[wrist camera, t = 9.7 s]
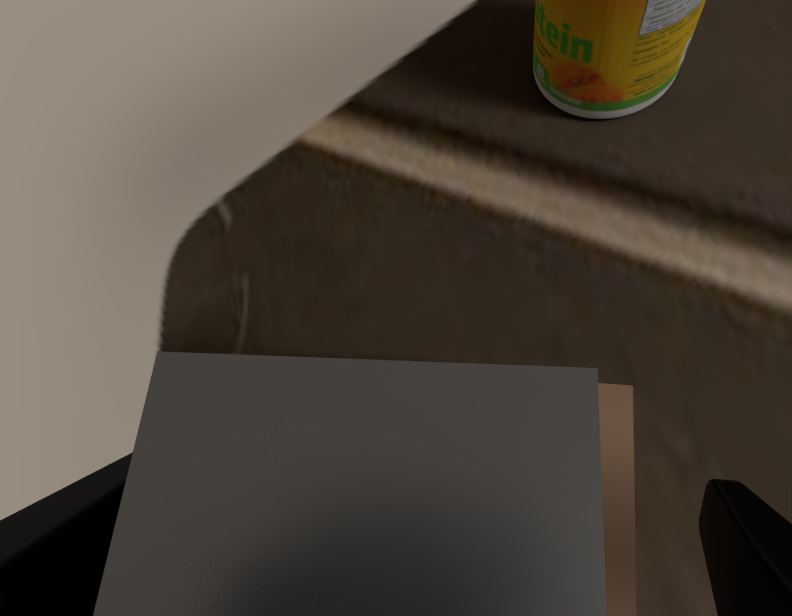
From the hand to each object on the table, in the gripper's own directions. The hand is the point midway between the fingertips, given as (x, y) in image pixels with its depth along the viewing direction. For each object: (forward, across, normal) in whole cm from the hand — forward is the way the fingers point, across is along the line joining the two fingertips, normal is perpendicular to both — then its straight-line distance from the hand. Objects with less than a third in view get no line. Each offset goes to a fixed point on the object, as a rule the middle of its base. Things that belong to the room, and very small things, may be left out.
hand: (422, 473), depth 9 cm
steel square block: (+4, 0, +6) cm, 8 cm away
